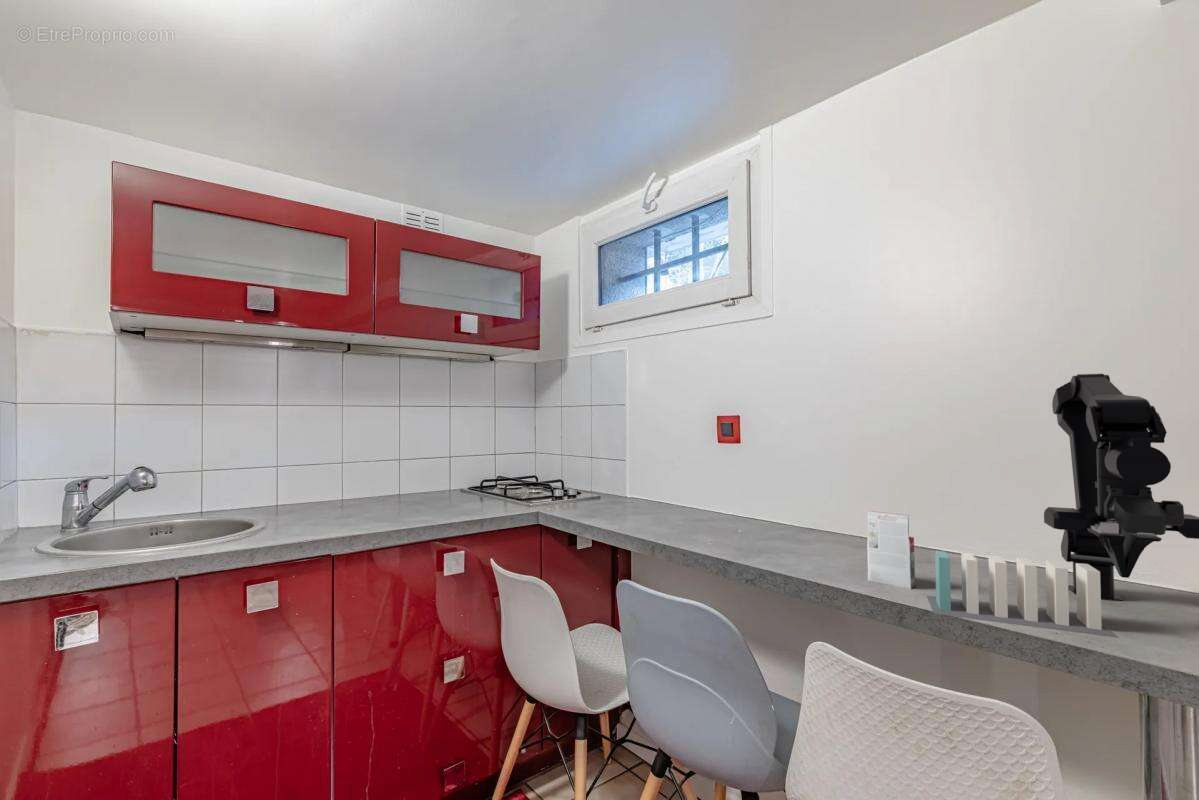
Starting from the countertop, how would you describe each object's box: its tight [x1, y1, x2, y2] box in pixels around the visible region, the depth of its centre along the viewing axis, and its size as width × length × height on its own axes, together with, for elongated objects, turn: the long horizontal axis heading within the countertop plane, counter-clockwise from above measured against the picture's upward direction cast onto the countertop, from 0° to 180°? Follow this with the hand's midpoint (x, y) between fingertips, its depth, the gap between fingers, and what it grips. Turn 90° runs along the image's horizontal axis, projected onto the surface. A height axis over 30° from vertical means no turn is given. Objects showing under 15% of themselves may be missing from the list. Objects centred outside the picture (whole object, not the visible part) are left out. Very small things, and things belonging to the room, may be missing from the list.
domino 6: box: [1075, 563, 1102, 630], centre depth 88 cm, size 2×5×9 cm, turn 155°
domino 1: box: [934, 550, 952, 611], centre depth 96 cm, size 2×5×9 cm, turn 155°
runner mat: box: [926, 595, 1120, 639], centre depth 92 cm, size 10×24×1 cm, turn 65°
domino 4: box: [1016, 557, 1039, 622], centre depth 91 cm, size 2×5×9 cm, turn 155°
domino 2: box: [960, 552, 980, 614], centre depth 95 cm, size 2×5×9 cm, turn 155°
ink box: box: [866, 510, 916, 590], centre depth 109 cm, size 4×8×15 cm, turn 47°
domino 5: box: [1045, 559, 1070, 626], centre depth 90 cm, size 2×5×9 cm, turn 155°
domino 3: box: [987, 554, 1009, 618], centre depth 93 cm, size 2×5×9 cm, turn 155°
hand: (1124, 576), depth 86 cm, fingers closed
